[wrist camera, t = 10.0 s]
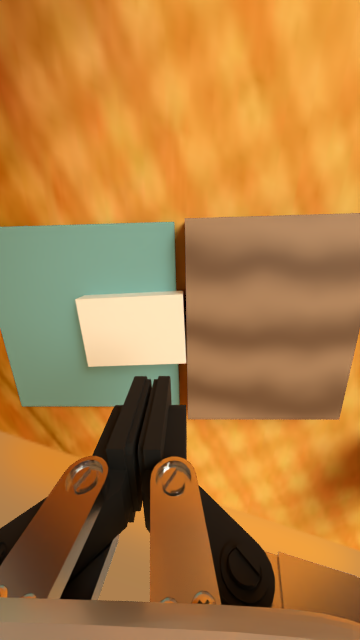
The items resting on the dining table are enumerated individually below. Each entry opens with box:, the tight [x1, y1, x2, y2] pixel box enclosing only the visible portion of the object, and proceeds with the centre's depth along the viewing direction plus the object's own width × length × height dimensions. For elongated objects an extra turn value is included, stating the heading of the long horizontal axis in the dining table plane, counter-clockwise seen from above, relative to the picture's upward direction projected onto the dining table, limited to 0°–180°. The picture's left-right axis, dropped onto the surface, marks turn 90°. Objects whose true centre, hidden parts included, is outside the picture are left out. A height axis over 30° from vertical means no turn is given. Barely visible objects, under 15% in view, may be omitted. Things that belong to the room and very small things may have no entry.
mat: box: [0, 222, 180, 406], centre depth 24 cm, size 20×19×1 cm
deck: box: [185, 213, 360, 419], centre depth 22 cm, size 20×16×2 cm
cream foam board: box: [75, 291, 186, 367], centre depth 23 cm, size 7×10×2 cm
